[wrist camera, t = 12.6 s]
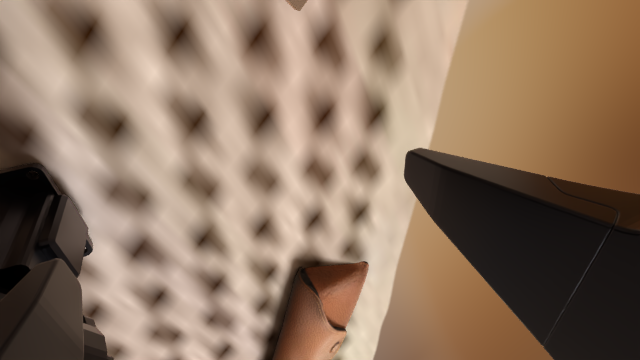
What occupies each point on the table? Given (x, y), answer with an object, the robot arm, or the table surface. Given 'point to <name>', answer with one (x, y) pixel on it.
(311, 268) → the sunglasses case
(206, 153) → the table surface
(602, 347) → the robot arm
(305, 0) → the brown wooden block
